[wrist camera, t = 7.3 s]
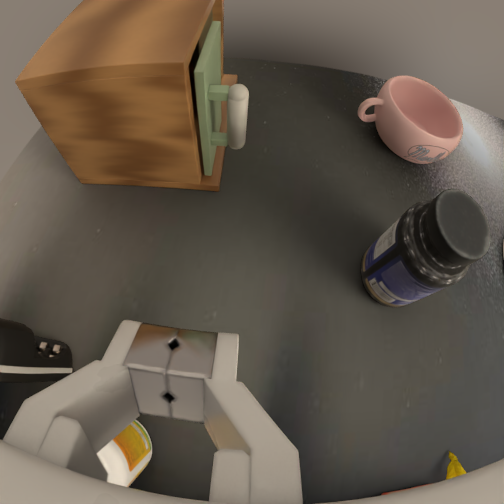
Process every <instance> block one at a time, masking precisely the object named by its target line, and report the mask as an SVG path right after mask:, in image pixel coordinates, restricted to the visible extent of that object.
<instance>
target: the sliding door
mask: <svg viewBox="0 0 504 504" xmlns="http://www.w3.org/2000/svg"><path fill="white" fill-rule="evenodd" d="M194 80H195V90H196V101H197V111H198V120H199V130H200V139H201V148H202V157H203V165H204V174H205V175H207V176H211V175H212V170H213V164H214V158H215V153H216V147H217V146H228V145H229V147H230V148H232V149H240V148H242V147H243V146H244V144H245V138H246V124H247V111H248V98H249V92H248V89H247V88H246V87H245V86H244V85H242V84H234V85H232V86H231V87H230V88H229V86H228V85H221V22H220V21H212V24H211V26H210V29H209V32H208V34H207V37H206V40H205V42H204V45H203V48H202V50H201V53H200V56H199V59H198V61H197V64H196V67H195V70H194ZM221 101H227V133H220V132H219V131H220V126H221V121H222V120H221Z"/></svg>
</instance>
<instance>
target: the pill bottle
mask: <svg viewBox="0 0 504 504" xmlns="http://www.w3.org/2000/svg"><path fill="white" fill-rule="evenodd" d="M490 236H491V235H490V228H489V224H488V220H487V217H486V216H485V214H484V212H483V210H482V208H481V207H480V205H479V204H478V203H477V202H476V201H475V200H474V199H473V198H472V197H471V196H469V195H468V194H467V193H465V192H463V191H461V190H458V189H448V190H445V191H443V192H442V193H441V194H439V195H438V196H437V197H436V198H434V199H433V200H432V201H431V200H430V201H422V202H419V203H416V204H414V205H413V206H412V207H410V208H409V209H408V210H407V211H406V212H405V213H404V214H403V215H402V216H401V217H400V218H399V219H398V220H397V221H396V222H395V223H394V224H393V225H392V226H391V227H390V228H389V229H388V230H387V231H385V232H384V233H383V234H382V235H381V236H380V237H379V238H378V239H377V240H376V241H375V242H374V243H373V244H372V245H371V246H370V247H369V248H368V249H367V251H366V252H365V254H364V255H363V257H362V262H361V275H362V280H363V283H364V286H365V288H366V290H367V291H368V293H369V294H370V295H371V297H372V298H373V299H375V300H376V301H377V302H379V303H380V304H382V305H384V306H389V307H402V306H405V305H407V304H409V303H412V302H414V301H416V300H419V299H421V298H424V297H426V296H428V295H430V294H433V293H435V292H437V291H439V290H442V289H444V288H446V287H448V286H450V285H453V284H455V283H456V282H458V281H459V280H461V279H462V278H463V276H465V274H466V272H467V270H468V268H469V266H470V264H472V263H474V262H475V261H477V260H478V259H480V258H481V257H483V256H484V255H485V254H486V252H487V250H488V248H489V245H490Z"/></svg>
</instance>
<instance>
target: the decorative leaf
mask: <svg viewBox="0 0 504 504" xmlns="http://www.w3.org/2000/svg"><path fill="white" fill-rule="evenodd" d="M449 458H450V460H451V462H450V463H449V465H448V467H447V477H446V480H447V479H451V478H454V477H457V476H460V475H463V474H466V472H465V471H464V469H463V468H462V466H461V464H460V463H459V462H458V459H457V457H456V456H454V454H453V453H451V452H450V451H449ZM455 459H456V460H455Z"/></svg>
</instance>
